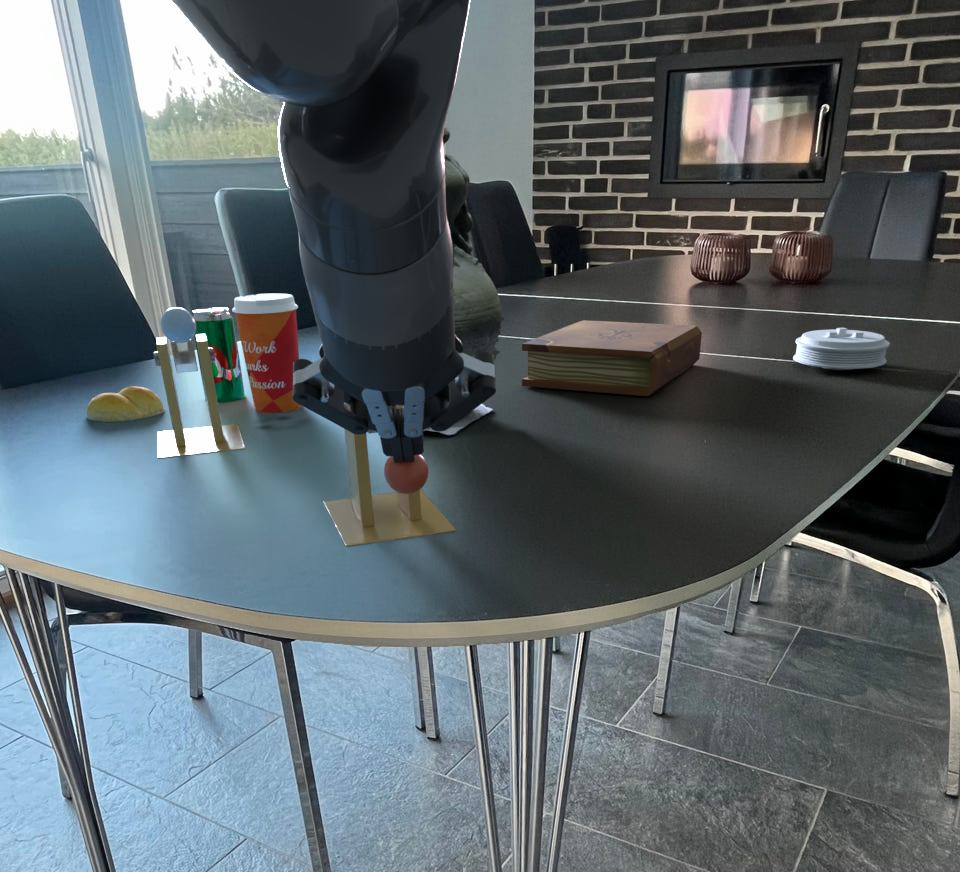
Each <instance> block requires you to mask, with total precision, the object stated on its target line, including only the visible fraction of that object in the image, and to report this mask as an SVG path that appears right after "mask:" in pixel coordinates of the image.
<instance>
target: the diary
mask: <svg viewBox="0 0 960 872" xmlns="http://www.w3.org/2000/svg"><path fill="white" fill-rule="evenodd" d="M702 337H703V332H702V330H701V329H700V328H699V326H698V325H690V324H689V325H688V324H668V323H648V322H647V323H646V322H627V321H626V322H625V321H607V320H606V321H605V320H586V319H585V320H584V319H582V320H580V321H578V322H575V323H572V324H570V325H567V326H564V327H561V328H559V329H556V330H554V331H551V332H549V333H546V334H543V335H541V336H539V337H536V338H533V339H530V340H528V341H526V342H523V343H521V352H527V376H526V377H522V379H521V386H522V387H532V388H541V389H543V388H544V389H555V390H568V391H578V392H593V393H605V394H613V395H614V394H616V395H627V396H638V397H639V396H640V397H650V396H651V395H653V394H654V393H656V392H657V391H658V390H660V389H661V388H662V387H664V386H665V385H667V384H668V383H670V382H672V380H674V379H675V378H677V377H679V376H680V375H681V374H683V373H684V372H685V371H687V370H688V369H689V368H691V367H692V366H694V365H695V364H696V363H697V362H698V361H699V360H700V357H701V347H702V346H701V345H702Z"/></svg>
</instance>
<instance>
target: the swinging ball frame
mask: <svg viewBox="0 0 960 872" xmlns="http://www.w3.org/2000/svg"><path fill="white" fill-rule="evenodd" d="M344 406H345V408H346V409H347V410H348V411H349V405H348V404H346V403H345V402H344ZM402 407H403V405H396V409H400V408H402ZM400 416H401V413H400ZM343 432H344V441H345V449H346V451H345V452H346V460H347V469H348V480H349V490H350V497H349V498H348V497H347V498H341V499H339V498H338V499H332V500H326V501H325V500H324V501H323V505H324V506H325V509H326V512H327V513H328V515H329V517H330V519H331V521H332V523H333V525H334V527H335V529H336V530H337V533H338V535H339V536H340V539H341V541H342V542H343V544H344V546H345V547H347V548H348V547H353V546H361V545H366V544H374V543H382V542H388V541H395V540H400V539H401V540H402V539H409V538H416V537H422V536H430V535H436V534H437V535H438V534H445V533H452V532H457V529H456V528H455V527H454V526H453V525H452V523H451V522H450V520H448V519H447V518H446V516H445V515H444V514H443V513H442V511H440V509H439V508H438V507H437V506H436V504H435V503H434V502H433V501H432V500H431V498H430V497H429V496H428V495H427V494H426V492H425V491H424V490H423V489H422V488H421V489H420V490H418V491H417V492H414V493H411V494H402V493H399V492H397V491H394V492H387V493H380V494H379V493H378V494H372V484H371V483H372V482H371V472H370V459H369V449H368V448H369V447H368V439H367V438H368V437H367V433H365V434H360V435H358V434H354V433H352V432H350V431H348V430H346V429H344V428H343Z"/></svg>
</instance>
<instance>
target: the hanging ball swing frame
mask: <svg viewBox="0 0 960 872" xmlns="http://www.w3.org/2000/svg"><path fill="white" fill-rule="evenodd" d="M155 339H156V345H155V346H156V350H157V351H154V352H153V358H154V363H155V367H160V370H161V376H162V381H163V386H164V390H165V391H164V392H165V396H166V401H167V406H168V411H169V417H170V421H171V426H172V430H171V429H170V430H163V431H157V432H156V459H166V458H176V457H185V456H194V455H204V454H211V453H212V454H213V453H220V452H232V451H241V450H246V445H245V443H244V439H243V436H242V433H241V430H240V427H239V424H238V423H231V424H230V423H229V424H222V420H221V414H220V409H219V408H220V407H219V403H218V401H217V395H216V390H215V384H214V378H213V372H212V366H211V362H215V356H214V350H213V348H208V342H207V338H206V335H205V334H199V335H196V340H197V345H198V351H199V357H200V363H201V368H202V374H203V380H204V386H205V391H206V397H207V401H206V403H207V407H208V408H207V409H208V413H209V419H210V420H209V421H210V426H202V427H201V426H200V427H192V428H184V424H183V417H182V412H181V408H180V402H179V397H178V391H177V385H176V381H175V375H174V370H173V366H172V359H171V355H170V349H169V344H168V338H167V337H166V336H161V337H156V338H155Z"/></svg>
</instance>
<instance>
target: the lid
mask: <svg viewBox="0 0 960 872" xmlns="http://www.w3.org/2000/svg"><path fill="white" fill-rule="evenodd" d="M795 344H796V350H795V354H794V355H793V357H792V360H793V361H795V362H796V363H799V364H802V365H807V366H811V367H818V368H822V369H825V370H833V371H850V370H858V369H870V368H871V369H872V368H877V367H881V366H884V365H886V363H887V359H886V354H887V349H888V348H889V347H890V345H891V342H890V341H888V340H886V338H885V336H884V335H883V334H880V333H877V332H873V331H864V330H858V329H857V330H856V329H848V328H847V327H836V328H835V329H817V330H810V331H806V332H804V333H802V335H801V336H799V337H797V338H796V339H795Z"/></svg>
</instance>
